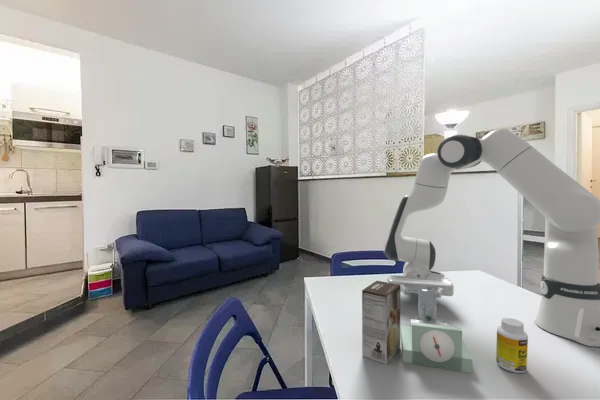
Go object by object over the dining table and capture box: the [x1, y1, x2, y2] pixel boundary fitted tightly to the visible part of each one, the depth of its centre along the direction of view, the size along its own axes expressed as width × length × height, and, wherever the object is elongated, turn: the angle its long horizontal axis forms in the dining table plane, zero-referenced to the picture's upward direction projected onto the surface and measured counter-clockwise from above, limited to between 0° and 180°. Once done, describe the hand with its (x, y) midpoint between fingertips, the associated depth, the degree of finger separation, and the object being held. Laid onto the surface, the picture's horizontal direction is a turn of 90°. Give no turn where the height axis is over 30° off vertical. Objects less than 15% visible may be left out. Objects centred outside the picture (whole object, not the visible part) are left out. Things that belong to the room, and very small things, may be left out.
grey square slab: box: [410, 318, 450, 327], centre depth 72 cm, size 9×9×2 cm
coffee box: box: [361, 280, 401, 365], centre depth 71 cm, size 9×6×16 cm
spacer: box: [417, 287, 438, 322], centre depth 80 cm, size 5×5×12 cm
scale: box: [400, 322, 473, 374], centre depth 70 cm, size 14×13×9 cm
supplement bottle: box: [495, 317, 529, 374], centre depth 65 cm, size 6×6×10 cm
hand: (421, 293), depth 91 cm, fingers open, 8 cm apart
